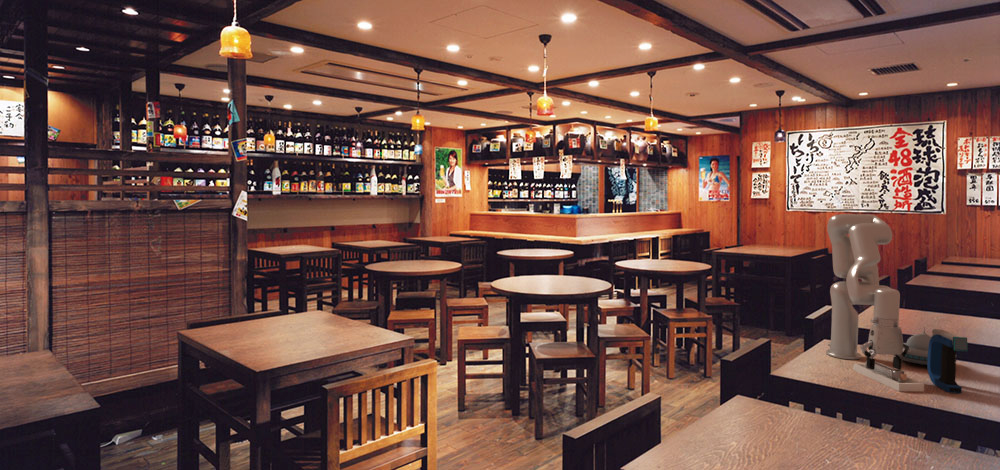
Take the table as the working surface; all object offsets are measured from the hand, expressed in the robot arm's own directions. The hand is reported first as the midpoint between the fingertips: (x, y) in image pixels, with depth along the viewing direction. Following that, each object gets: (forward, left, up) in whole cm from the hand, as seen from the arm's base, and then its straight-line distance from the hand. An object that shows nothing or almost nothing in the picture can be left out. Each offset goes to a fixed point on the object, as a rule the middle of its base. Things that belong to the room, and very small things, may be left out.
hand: (883, 368), depth 197 cm
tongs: (+1, 0, -3) cm, 4 cm away
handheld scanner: (+10, +15, -4) cm, 18 cm away
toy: (-19, +30, -4) cm, 36 cm away
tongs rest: (+2, 0, -4) cm, 4 cm away
